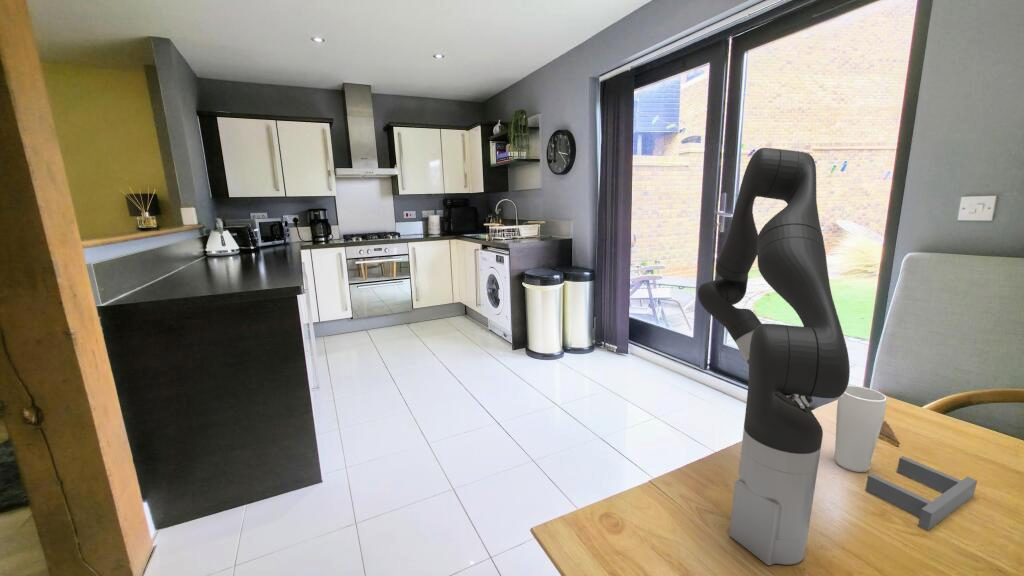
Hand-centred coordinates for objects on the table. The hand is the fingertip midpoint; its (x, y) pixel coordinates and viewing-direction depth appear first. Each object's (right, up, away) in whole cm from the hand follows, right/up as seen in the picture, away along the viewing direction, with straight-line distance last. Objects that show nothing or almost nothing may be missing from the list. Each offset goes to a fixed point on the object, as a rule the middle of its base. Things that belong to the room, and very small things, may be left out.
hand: (813, 427), depth 84 cm
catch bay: (+7, -7, -14) cm, 17 cm away
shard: (+19, -4, +7) cm, 21 cm away
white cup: (+3, -6, -5) cm, 8 cm away
